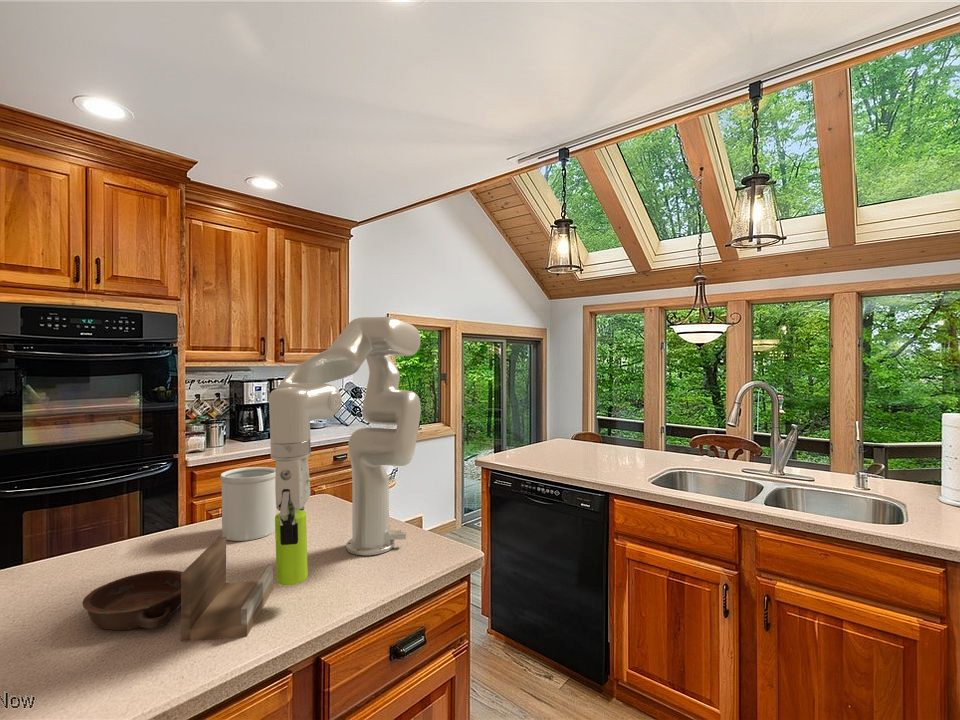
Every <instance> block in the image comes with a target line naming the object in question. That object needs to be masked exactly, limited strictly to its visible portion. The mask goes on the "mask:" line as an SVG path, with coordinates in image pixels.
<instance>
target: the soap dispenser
mask: <svg viewBox="0 0 960 720" xmlns="http://www.w3.org/2000/svg"><path fill="white" fill-rule="evenodd" d="M309 481H310V482H311V479H310V480H307V482H309ZM289 508H294V505H289ZM304 511H305V510H304ZM304 511H301V510H299V508H297V513H296V523H298V543H297V544H291V545H281V540H280V512H279V513H278V514H277V513H276V516H275V530H274V533H275V558H276V559H275V561H276V563H275V564H276V566H275V567H276V583H277V584H278V585H280V586H283V587H284V586H289V587H290V586H294V585H297V584H301V583H302V582H305V581H306V580H307V579H308V577H309V573H308V569H309V567H308V540H307V539H308V538H307V537H308V535H307V512H306V511H305V512H304ZM289 514H291V515H292V514H293V511H290V512H289Z"/></svg>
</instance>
